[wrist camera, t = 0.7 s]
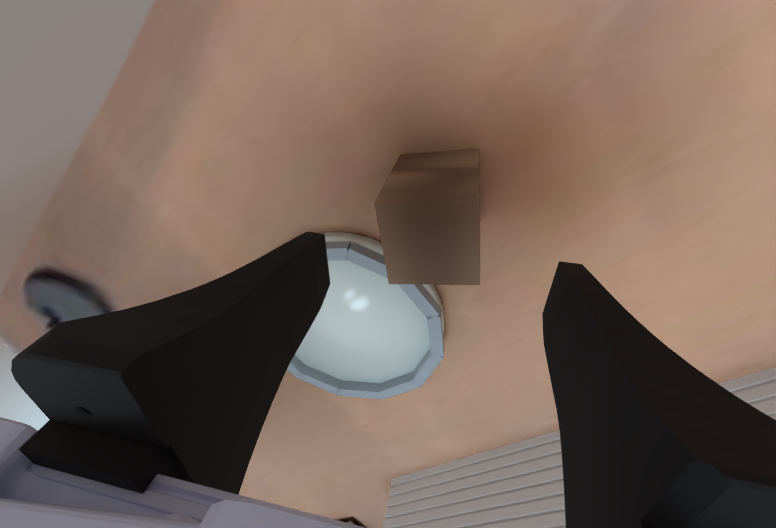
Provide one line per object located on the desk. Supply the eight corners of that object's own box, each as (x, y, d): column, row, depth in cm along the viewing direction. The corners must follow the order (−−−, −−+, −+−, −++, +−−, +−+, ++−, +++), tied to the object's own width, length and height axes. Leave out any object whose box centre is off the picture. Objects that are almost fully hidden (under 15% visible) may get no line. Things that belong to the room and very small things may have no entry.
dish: (292, 371, 32) (282, 391, 30) (237, 235, 25) (220, 250, 23) (449, 382, 29) (447, 404, 27) (437, 228, 22) (433, 246, 20)
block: (409, 222, 22) (388, 284, 17) (400, 154, 20) (374, 202, 15) (480, 220, 21) (479, 284, 16) (479, 148, 19) (478, 197, 14)
